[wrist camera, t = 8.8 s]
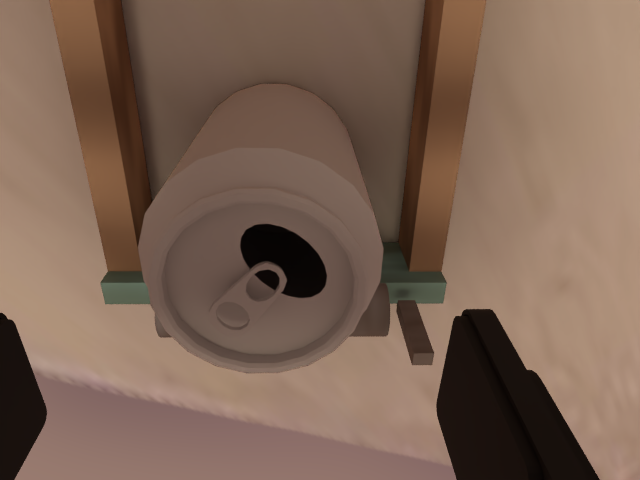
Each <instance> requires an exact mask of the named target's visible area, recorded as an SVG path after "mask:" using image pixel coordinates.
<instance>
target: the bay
mask: <svg viewBox="0 0 640 480" xmlns="http://www.w3.org/2000/svg"><path fill="white" fill-rule="evenodd" d="M49 1H50V6H51V10H52V15H53V20H54V24H55V29H56V33H57V38H58V43H59V47H60V52H61V57H62V61H63V66H64V70H65V75H66V80H67V84H68V89H69V93H70V98H71V103H72V107H73V112H74V116H75V121H76V126H77V130H78V135H79V140H80V144H81V149H82V153H83V158H84V163H85V167H86V172H87V176H88V181H89V186H90V190H91V195H92V199H93V204H94V209H95V213H96V218H97V223H98V227H99V232H100V236H101V241H102V246H103V250H104V255H105V259H106V264H107V269H108V272H107V274H106V275H105V277H104V278H103V280H102V281H101V287H102V292H103V296H104V300H105V304H150V298H149V292H148V287H147V286H146V284H145V282H144V280H143V274H142V268H141V262H140V257H139V251H138V245H139V240H140V235H141V230H142V225H143V220H144V215H145V213H146V211H147V210H148V208H149V207H150V205H151V204H152V199H151V192H150V186H149V180H148V173H147V167H146V160H145V154H144V147H143V141H142V134H141V128H140V121H139V115H138V108H137V102H136V95H135V89H134V82H133V76H132V69H131V63H130V56H129V50H128V43H127V37H126V30H125V24H124V17H123V11H122V4H121V0H49ZM485 5H486V0H426V2H425V11H424V20H423V29H422V38H421V47H420V55H419V64H418V73H417V82H416V91H415V100H414V109H413V117H412V126H411V135H410V144H409V153H408V162H407V171H406V179H405V188H404V197H403V206H402V215H401V224H400V233H399V241H398V243H382V244H383V248H384V250H383V260H382V270H381V280H380V283H379V285H378V287H377V289H376V291H375V293H374V295H373V297H372V299H371V301H370V303H369V305H368V307H367V310H366V311H365V312H364V313H363V314H362V316H361V318H360V320H359V322H358V324H357V326H356V328H355V331H354V332H353V333H352V334H351V335H350V336H387V335H388V332H389V325H390V303H397V310H396V311H397V315H398V318H399V321H400V325H401V328H402V332H403V335H404V339H405V342H406V346H407V349H408V352H409V356H410V359H411V363H412V365H432V362H433V357H434V352H433V349H432V346H431V343H430V341H429V338H428V335H427V332H426V330H425V327H424V324H423V321H422V318H421V316H420V313H419V310H418V307H417V304H416V303H443V301H444V295H445V289H446V284H447V282H446V280H445V278H444V276H443V274H442V272H441V270H442V264H443V258H444V252H445V246H446V240H447V234H448V228H449V222H450V216H451V210H452V204H453V198H454V192H455V186H456V180H457V174H458V168H459V162H460V156H461V150H462V144H463V138H464V132H465V126H466V120H467V114H468V108H469V102H470V96H471V90H472V83H473V77H474V71H475V65H476V59H477V53H478V47H479V41H480V35H481V29H482V23H483V17H484V11H485ZM155 325H156V330H157V333H158V335H159V337H172V336H170V335H169V334H168V333H167V332H166V331H165V329H164V327H163V326H162V324H161V322H160V320H159V319H158V317H157V315H156V313H155Z"/></svg>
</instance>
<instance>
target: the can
mask: <svg viewBox="0 0 640 480" xmlns="http://www.w3.org/2000/svg"><path fill="white" fill-rule="evenodd" d="M383 250H384V248H383V244H382V241H381V237H380V233H379V230H378V226H377V222H376V218H375V215H374V212H373V209H372V205H371V202H370V199H369V196H368V193H367V190H366V187H365V184H364V181H363V177H362V174H361V171H360V168H359V165H358V162H357V159H356V156H355V152H354V149H353V146H352V143H351V140H350V137H349V134H348V131H347V129H346V127H345V126H344V124H343V123H342V121H341V120H340V118H339V117H338V115H337V114H336V112H335V111H334V109H333V108H331V107H330V106H329V105H328V104H326V103H325V102H324V101H322V100H321V99H320V98H319V97H317V96H316V95H315V94H313V93H311V92H309V91H306V90H303V89H300V88H297V87H294V86H292V85H289V84H259V85H255V86H252V87H249V88H246V89H243V90H240V91H237V92H235V93H234V94H233V95H231V96H230V97H229V98H227V99H226V100H225V101H223V102H222V103H221V104H219V105H218V106H217V107H216V108H215V109H214V111H213V112H212V114H211V115H210V117H209V118H208V120H207V121H206V123H205V124H204V126H203V127H202V129H201V130H200V132H199V133H198V135H197V136H196V138H195V139H194V141H193V142H192V144H191V145H190V147H189V148H188V149H187V151H186V152H185V154H184V155H183V157H182V158H181V160H180V161H179V163H178V164H177V166H176V167H175V169H174V170H173V172H172V173H171V175H170V176H169V178H168V179H167V181H166V182H165V184H164V185H163V187H162V188H161V190H160V191H159V193H158V194H157V196H156V197H155V199H154V200H153V202H152V204H151V205H150V207H149V208H148V210H147V211H146V213H145V215H144V220H143V225H142V230H141V235H140V240H139V245H138V251H139V257H140V262H141V268H142V274H143V280H144V282H145V284H146V286H147V287H148V292H149V298H150V304H151V306H152V308H153V310H154V312H155V313H156V315H157V317H158V319H159V320H160V322H161V324H162V326H163V327H164V329H165V331H166V332H167V333H168V334H169V335H170V336H172V337H173V338H174V339H175V340H176V341H177V342H178V343H179V344H180V345H181V346H182V347H184V348H185V349H186V350H187V351H188V352H190V353H192V354H193V355H195V356H197V357H199V358H201V359H203V360H205V361H207V362H209V363H211V364H213V365H215V366H218V367H222V368H227V369H231V370H235V371H239V372H244V373H280V372H284V371H288V370H292V369H296V368H300V367H304V366H308V365H310V364H312V363H314V362H315V361H317V360H319V359H321V358H323V357H324V356H326V355H328V354H330V353H332V352H334V351H335V350H336V349H337V348H338V347H339V346H340V345H341V344H342V343H343V342H344V341H345V340H346V339H347V338H348V337H349V336H350V335H351V334H352V333H353V332H354V331H355V328H356V326H357V324H358V322H359V320H360V318H361V316H362V314H363V313H364V312H365V311H366V310H367V307H368V305H369V303H370V301H371V299H372V297H373V295H374V293H375V291H376V289H377V287H378V285H379V283H380V280H381V270H382V260H383Z"/></svg>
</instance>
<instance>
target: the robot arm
mask: <svg viewBox="0 0 640 480" xmlns="http://www.w3.org/2000/svg"><path fill="white" fill-rule="evenodd" d="M46 415H47V410H46V406H45V403H44V400H43V397H42V395H41V392H40V390H39V387H38V384H37V382H36V379H35V376H34V373H33V371H32V368H31V365H30V363H29V360H28V357H27V355H26V352H25V349H24V346H23V344H22V341H21V338H20V336H19V333H18V330H17V328H16V325H15V323H14V322H13V321H12V320H9V319H7V317H6V316H5V315H4V314H3V313H0V480H14V479H15V477H16V476H17V474H18V472H19V470H20V468H21V466H22V465H23V463H24V461H25V459H26V457H27V455H28V454H29V452H30V450H31V448H32V446H33V444H34V443H35V441H36V439H37V437H38V435H39V434H40V432H41V430H42V428H43V426H44V424H45V421H46ZM437 416H438V420H439V423H440V427H441V430H442V433H443V436H444V440H445V443H446V446H447V449H448V453H449V456H450V459H451V462H452V466H453V469H454V472H455V475H456V479H457V480H600V479H599V478H598V476H597V474H596V473H595V471H594V469H593V467H592V466H591V464H590V462H589V461H588V459H587V457H586V455H585V454H584V452H583V450H582V449H581V447H580V445H579V443H578V442H577V440H576V438H575V437H574V435H573V433H572V432H571V430H570V428H569V426H568V425H567V423H566V421H565V420H564V418H563V416H562V414H561V413H560V411H559V409H558V408H557V406H556V404H555V403H554V401H553V399H552V397H551V396H550V394H549V392H548V391H547V389H546V387H545V385H544V384H543V382H542V380H541V379H540V377H539V376H538V375H537V373H535V372H534V371H532V370H527V369H526V368H525V366H524V364H523V362H522V361H521V359H520V357H519V355H518V353H517V352H516V350H515V348H514V346H513V345H512V343H511V341H510V339H509V338H508V336H507V334H506V332H505V330H504V329H503V327H502V325H501V323H500V322H499V320H498V318H497V316H496V314H495V313H494V312H493V310H491V309H466V310H464V311H463V312H462V315H461V316H456V317H455V318H454V321H453V325H452V330H451V335H450V340H449V345H448V349H447V354H446V359H445V364H444V369H443V374H442V379H441V383H440V388H439V393H438V398H437Z"/></svg>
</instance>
